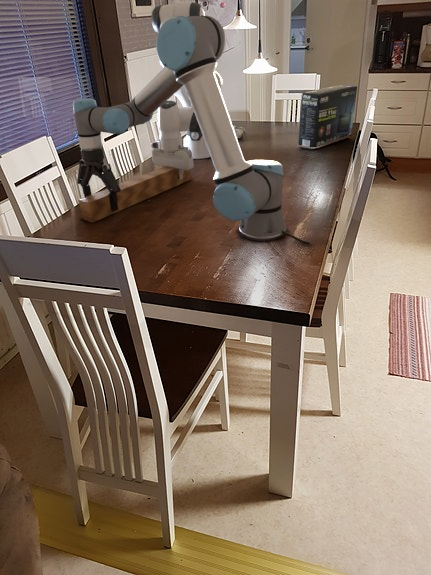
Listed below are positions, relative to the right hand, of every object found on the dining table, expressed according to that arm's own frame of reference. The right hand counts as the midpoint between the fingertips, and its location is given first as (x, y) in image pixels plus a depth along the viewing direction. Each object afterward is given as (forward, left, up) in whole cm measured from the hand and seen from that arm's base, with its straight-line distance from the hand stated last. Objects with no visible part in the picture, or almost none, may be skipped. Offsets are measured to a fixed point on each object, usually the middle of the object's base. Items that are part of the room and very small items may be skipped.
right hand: (101, 206), depth 167 cm
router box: (-41, -129, -3) cm, 135 cm away
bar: (-2, -20, -3) cm, 20 cm away
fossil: (+13, -120, -3) cm, 121 cm away
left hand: (-4, -40, 0) cm, 40 cm away
